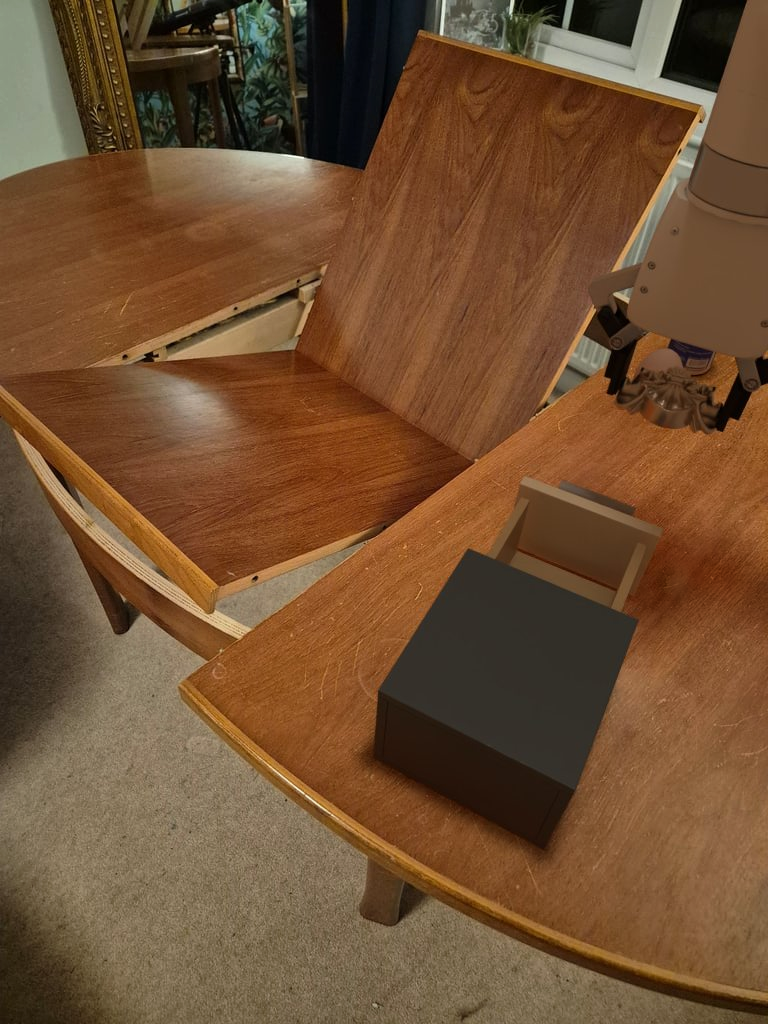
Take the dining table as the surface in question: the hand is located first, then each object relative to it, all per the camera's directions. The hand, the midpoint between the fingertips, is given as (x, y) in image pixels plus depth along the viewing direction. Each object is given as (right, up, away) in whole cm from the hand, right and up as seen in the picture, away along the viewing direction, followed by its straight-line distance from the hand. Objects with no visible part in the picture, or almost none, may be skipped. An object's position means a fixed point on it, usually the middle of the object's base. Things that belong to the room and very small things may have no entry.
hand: (667, 403), depth 59 cm
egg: (+9, +4, +29) cm, 31 cm away
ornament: (0, -1, +1) cm, 1 cm away
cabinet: (-14, -25, -1) cm, 29 cm away
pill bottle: (+16, +10, +36) cm, 40 cm away
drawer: (-7, -16, +7) cm, 19 cm away
